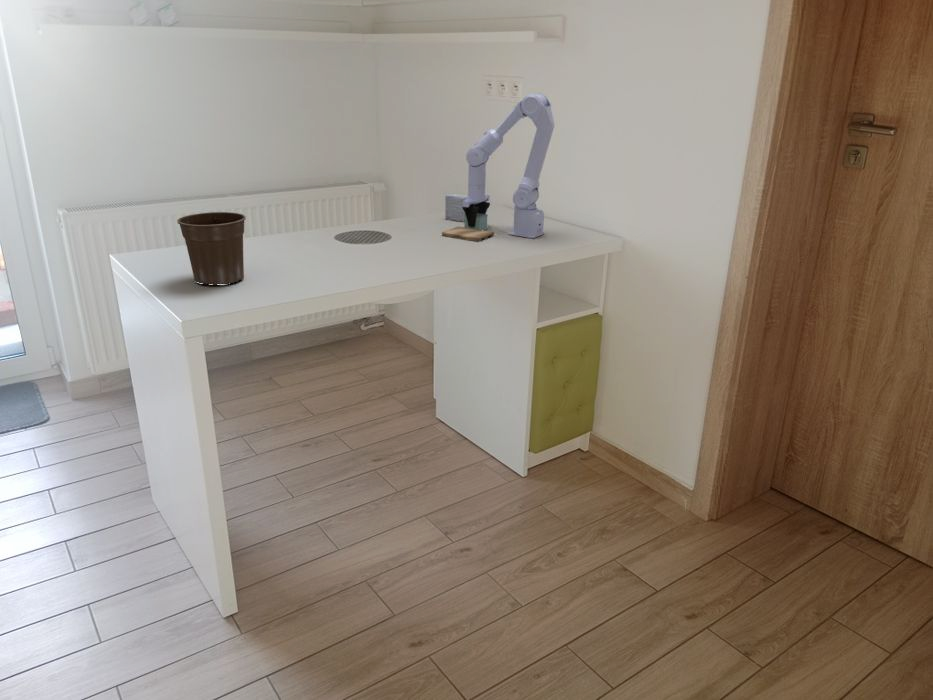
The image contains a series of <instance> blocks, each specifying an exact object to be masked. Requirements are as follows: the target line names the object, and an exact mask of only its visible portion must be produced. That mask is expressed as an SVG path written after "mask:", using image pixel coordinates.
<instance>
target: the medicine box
mask: <svg viewBox="0 0 933 700" xmlns="http://www.w3.org/2000/svg"><path fill="white" fill-rule="evenodd" d="M467 196H468V195H465V194H458V193H450V194H447V195H445V207H444V208H445V216H444V217H445V220H449V221H457V222H462V223H464V221H465V216H464V215H465V212H464V210H463V208H462V205H463V201H464V200H465V197H467Z"/></svg>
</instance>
